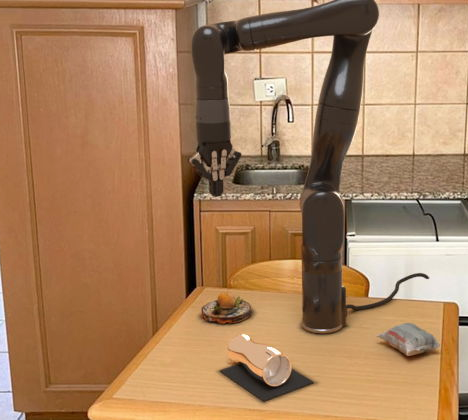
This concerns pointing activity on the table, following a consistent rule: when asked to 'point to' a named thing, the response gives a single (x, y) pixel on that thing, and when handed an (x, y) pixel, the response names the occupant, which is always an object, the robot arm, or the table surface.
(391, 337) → the packaged food
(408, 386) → the table surface
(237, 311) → the floral plate with food
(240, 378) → the mat
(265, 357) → the copper cup
